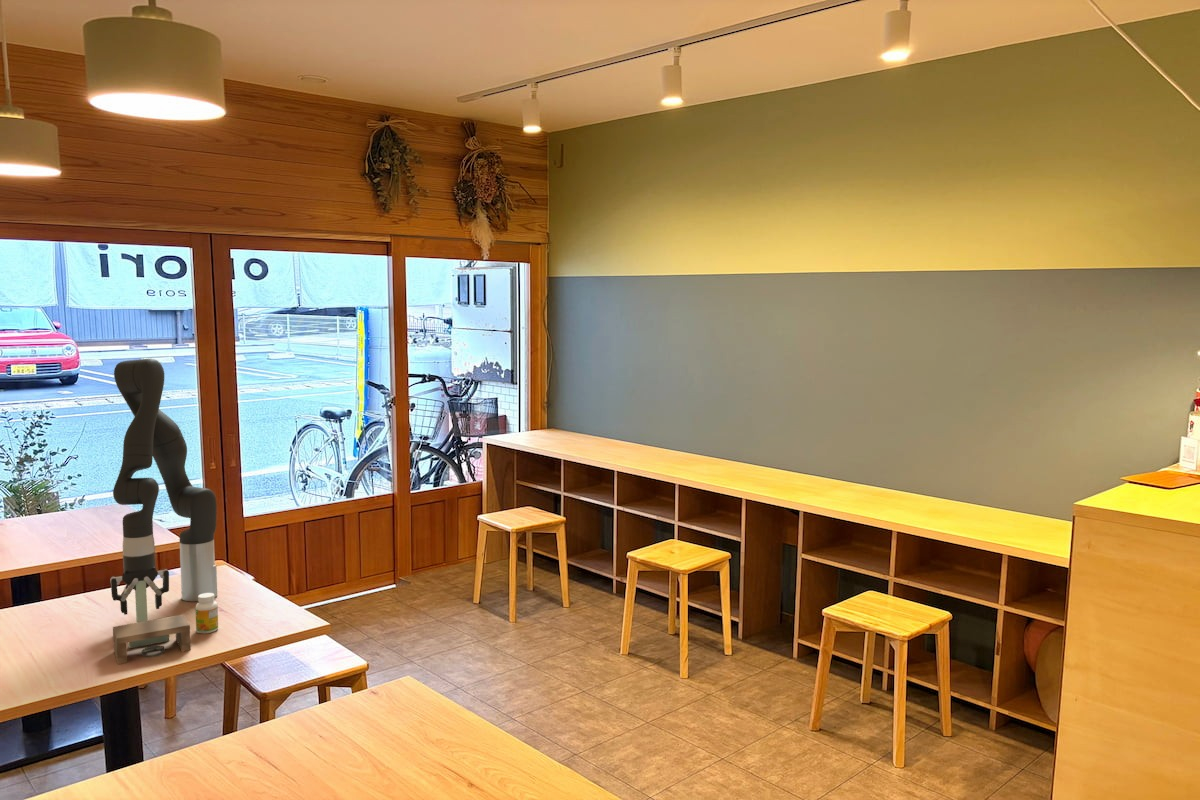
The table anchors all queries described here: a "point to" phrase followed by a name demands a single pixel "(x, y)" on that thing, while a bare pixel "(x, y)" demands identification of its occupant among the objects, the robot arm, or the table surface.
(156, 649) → the token
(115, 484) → the robot arm
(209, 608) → the supplement bottle
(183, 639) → the wooden arch
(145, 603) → the rake
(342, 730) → the table surface
